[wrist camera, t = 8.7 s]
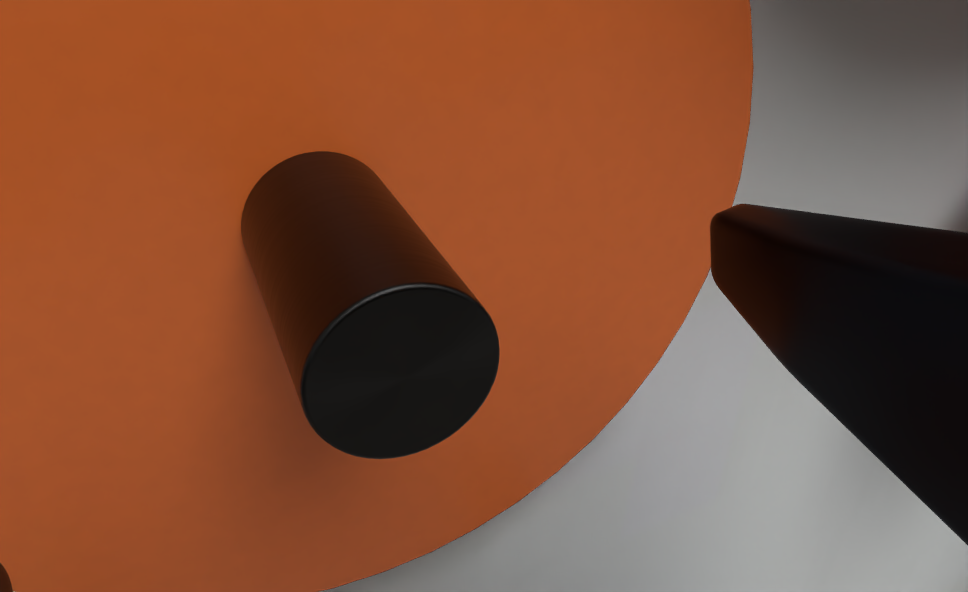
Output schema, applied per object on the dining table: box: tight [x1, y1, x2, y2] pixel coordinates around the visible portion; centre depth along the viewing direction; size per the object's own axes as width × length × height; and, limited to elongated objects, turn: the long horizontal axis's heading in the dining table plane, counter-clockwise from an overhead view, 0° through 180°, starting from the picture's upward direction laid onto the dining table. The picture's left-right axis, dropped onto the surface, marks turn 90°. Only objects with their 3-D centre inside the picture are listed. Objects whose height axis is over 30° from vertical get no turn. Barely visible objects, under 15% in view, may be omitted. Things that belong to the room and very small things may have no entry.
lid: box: [0, 0, 753, 592], centre depth 11 cm, size 17×17×6 cm
